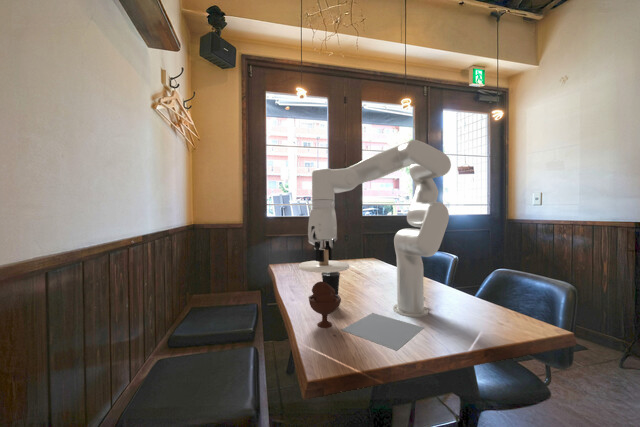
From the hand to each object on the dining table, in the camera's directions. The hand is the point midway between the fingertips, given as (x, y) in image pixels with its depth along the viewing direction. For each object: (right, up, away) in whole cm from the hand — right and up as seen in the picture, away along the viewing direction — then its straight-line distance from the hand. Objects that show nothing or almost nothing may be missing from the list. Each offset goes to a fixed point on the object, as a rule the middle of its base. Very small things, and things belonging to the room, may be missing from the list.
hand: (323, 260), depth 86 cm
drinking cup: (+3, -22, +18) cm, 29 cm away
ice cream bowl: (0, -22, 0) cm, 22 cm away
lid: (0, -2, 0) cm, 2 cm away
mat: (+19, -22, -4) cm, 29 cm away
